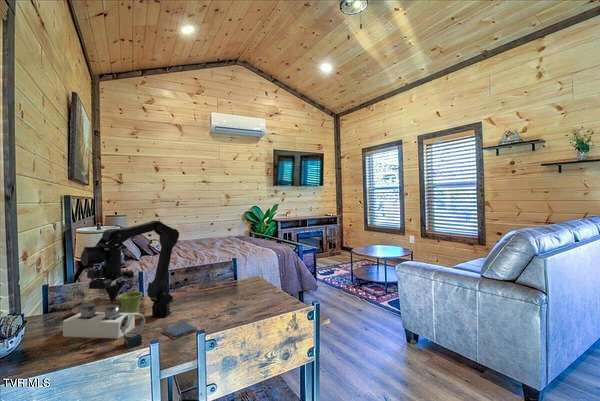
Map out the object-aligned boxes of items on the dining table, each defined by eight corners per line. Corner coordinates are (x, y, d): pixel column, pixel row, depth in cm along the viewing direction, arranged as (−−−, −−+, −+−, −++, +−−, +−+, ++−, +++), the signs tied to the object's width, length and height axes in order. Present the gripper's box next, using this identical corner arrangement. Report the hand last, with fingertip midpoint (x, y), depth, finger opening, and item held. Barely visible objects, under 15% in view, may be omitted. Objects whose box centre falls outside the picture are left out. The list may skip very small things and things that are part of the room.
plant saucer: (62, 315, 139) (62, 308, 139) (108, 302, 157) (108, 296, 157) (87, 324, 129) (87, 316, 129) (134, 309, 148) (134, 302, 148)
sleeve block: (134, 327, 126) (134, 313, 126) (118, 338, 116) (118, 322, 116) (83, 325, 127) (83, 311, 127) (62, 336, 117) (63, 320, 117)
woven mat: (184, 325, 130) (184, 320, 130) (199, 332, 123) (199, 327, 123) (160, 333, 122) (160, 328, 122) (174, 341, 115) (174, 335, 115)
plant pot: (126, 319, 135) (126, 299, 135) (114, 314, 140) (115, 295, 140) (146, 312, 143) (146, 293, 143) (135, 308, 148) (135, 290, 148)
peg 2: (122, 319, 123) (122, 305, 123) (114, 323, 118) (114, 309, 118) (110, 318, 124) (110, 304, 124) (102, 323, 119) (102, 308, 119)
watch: (117, 345, 110) (118, 314, 110) (142, 338, 116) (142, 309, 116) (122, 350, 106) (122, 318, 106) (147, 343, 112) (147, 313, 112)
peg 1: (98, 318, 124) (98, 304, 124) (89, 322, 119) (89, 308, 119) (86, 317, 124) (86, 304, 124) (77, 322, 119) (77, 308, 119)
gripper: (109, 256, 131) (109, 293, 131) (74, 265, 112) (74, 308, 112) (134, 257, 130) (134, 293, 130) (104, 266, 112) (103, 309, 112)
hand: (112, 300), depth 121 cm, fingers closed
